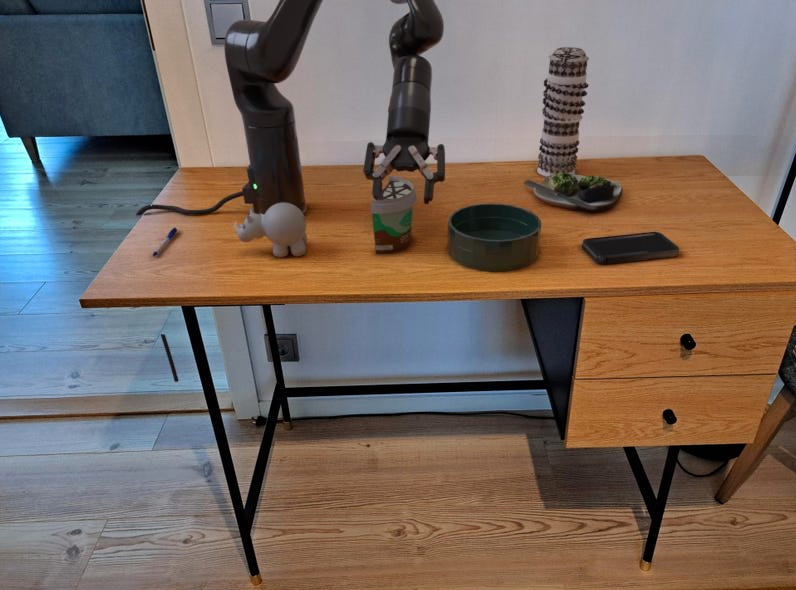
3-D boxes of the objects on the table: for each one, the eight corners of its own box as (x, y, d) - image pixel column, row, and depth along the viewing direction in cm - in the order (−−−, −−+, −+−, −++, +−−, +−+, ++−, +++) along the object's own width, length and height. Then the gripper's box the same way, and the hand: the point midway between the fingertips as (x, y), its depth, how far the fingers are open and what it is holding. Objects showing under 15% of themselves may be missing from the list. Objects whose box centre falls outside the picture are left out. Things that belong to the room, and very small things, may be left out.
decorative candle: (544, 180, 139) (557, 54, 124) (529, 166, 146) (540, 46, 131) (583, 177, 140) (601, 52, 126) (566, 163, 148) (581, 44, 133)
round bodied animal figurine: (243, 243, 114) (235, 197, 109) (311, 241, 114) (306, 195, 109) (235, 261, 108) (226, 214, 103) (307, 259, 108) (301, 212, 103)
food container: (408, 260, 108) (407, 204, 102) (373, 257, 109) (370, 201, 103) (423, 230, 118) (423, 177, 112) (391, 228, 119) (389, 175, 113)
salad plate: (509, 203, 128) (511, 180, 126) (538, 175, 141) (540, 154, 139) (605, 220, 121) (609, 197, 119) (626, 189, 134) (630, 168, 132)
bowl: (443, 269, 105) (443, 238, 102) (452, 230, 118) (452, 201, 115) (538, 274, 104) (542, 243, 101) (537, 234, 117) (540, 205, 113)
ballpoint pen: (173, 231, 117) (172, 226, 117) (178, 231, 117) (176, 226, 117) (152, 257, 109) (151, 251, 108) (157, 257, 109) (156, 251, 108)
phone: (580, 239, 112) (658, 231, 114) (579, 245, 113) (657, 236, 115) (599, 259, 106) (682, 250, 108) (598, 265, 106) (680, 256, 109)
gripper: (450, 127, 118) (443, 211, 115) (373, 125, 119) (365, 208, 116) (447, 105, 110) (440, 194, 108) (366, 103, 112) (357, 191, 109)
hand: (401, 201), depth 112 cm, fingers open, 8 cm apart
